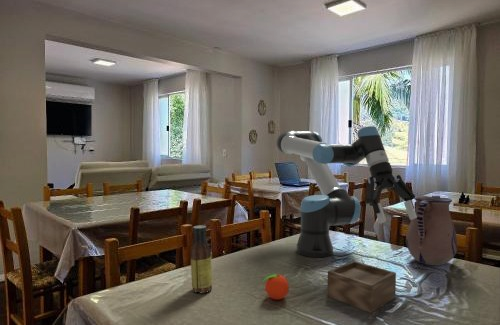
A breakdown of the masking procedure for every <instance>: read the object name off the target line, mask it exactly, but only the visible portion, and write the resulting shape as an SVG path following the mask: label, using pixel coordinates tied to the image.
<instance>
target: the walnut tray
mask: <svg viewBox="0 0 500 325" xmlns="http://www.w3.org/2000/svg"><path fill="white" fill-rule="evenodd" d="M396 281H397V272H396V271H395V272H394V271H391V270H388V269H385V268H382V267H381V268H380V267H377V266H374V265H370V264H367V263H363V262H360V261H357V260H352V261H349V262H346V263H345V264H341V265H339V266H337V267H334V268H332V269H330V270H327V290H326V291H327V292H326V293H327V295H326V296H327V297H330V298H333V299H334V300H337V301H339V302H342V303H344V304H348V305H350V306H353V307H355V308H357V309H360V310H363V311H365V312H367V313H370V314H371V313H373V312H375V311H376V310H377V309H380V308H381V307H383V306H384V305H386V304H388V303H389V302H390V301H392V300H394V299H395V298H396V288H397V287H396V285H397V283H396Z"/></svg>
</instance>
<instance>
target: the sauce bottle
mask: <svg viewBox="0 0 500 325" xmlns="http://www.w3.org/2000/svg"><path fill="white" fill-rule="evenodd" d="M192 232H193V244H192V246H191V248H190V267H191V268H190V273H191V287H192V291H193V290H194V291H196V292H207V291H209V292H211V291H212V289H213V271H212V252H211V250H210V247H209V243H208V240H207V226H206V225H200V224H199V225H195V226H193V227H192ZM210 290H211V291H210ZM196 292H195V293H196ZM207 293H208V292H207Z"/></svg>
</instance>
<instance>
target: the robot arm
mask: <svg viewBox="0 0 500 325" xmlns="http://www.w3.org/2000/svg"><path fill="white" fill-rule="evenodd" d="M276 148H277V149H278V151H279V152H281V153H282V154H286V155H297V156H298V157H299V158H300V160H301V161H302V162H305V163H306V166H307V167H308V170H309V171H310V174H311V175H312V177H313V180H315V183H316V185H317V187H318V190H320V193H321V194H315V195H314V194H313V195H308V196H306V197H303V198H302V200H301V204H300V235H299V238H298V240H297V243H296V249H295V250H296V253H297V254H299V255H301V256H304V257H311V258H325V257H330V256H333V253H334V247H333V245H332V241H331V237H330V226H340V225H341V226H342V225H349V224H354V223H356V222H357V221H358V220H359V219H360V215H361V210H362V208H361V206H362V205H361V203H360V200H359V199H358V198H357V197H356V196H353V195H351V196H350V194H349V193H348V191H347V190H346V189H345V188H341V186H340V184H339V182H338V180H337V179H336V177H335V175H334V174H333V172H332V170H331V168H330V166H329V165H328V164H343V165H344V166H347V167H348V168H349V167H355V165H358V164H359V163H360V162H362V161H364V160H365V161H366V163H367V166H368V168H369V170H368V171H369V172H370V175H371V176H370V177H368V178H367V179H366V183H367V186H366V187H367V188H366V198H365V203H366V204H367V205H369V206H370V207H372V209H373V211H374V214H376V217H377V220H378V223H379V224H383V223H385V222H387V219H386V215H385V212H384V209H383V208H382V203H381V202H379V200H380V198H381V194H382V192H383V190H391V191H393V192H394V194H396V195H398V196H399V197H400V198H401V199H402V200H403V201H404V202H403V205H404V208H405V209H406V212H407V215H408V218H409V220H410V221H411V220H412V219H415V218H417V216H416V213H415V210H416V209H415V206H414V203H413V200H415V199H414V198H415V196H416V195H415V193H414V192H413V191H412V190H411V189H410V188H409V186H407V184H406V183H405V182H404V180H403V179H402V176H401V175H400V174H397V175H395V176H394V175H393V168H392V166H391V162H390V161H389V158H388V155H387V151H386V150H385V146H384V144H383V141H382V138H381V134H380V133H379V130H378V129H377V126H374V125H366V126H364V127H362V128H360V129H358V131H357V140H356V141H354V142H353V143H350V144H349V143H347V144H346V143H343V144H341V143H340V144H335V143H334V144H332V143H327V142H323V138H322V136H321V134H320V133H318V132H317V131H311V130H286V131H283V132H282V133H281V134H279V135H278V137H277V139H276ZM375 185H376V186H375Z"/></svg>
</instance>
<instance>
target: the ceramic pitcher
mask: <svg viewBox="0 0 500 325" xmlns="http://www.w3.org/2000/svg"><path fill="white" fill-rule="evenodd" d="M413 200H415V202H416V207H415V209H414V210H415V213H416V216H417V218H415V219H412V220H410V223H409V225H408V229H407V231H406V236H405V243H406V247H407V249H408V252H409V254H410V255H411V256H412V258H414V259H415V260H416V261H417V262H418V263H419V264H424V265H427V266H443V265H445V264H448V263H449V262H450V261H452V260H453V259H454V257H455V256H456V254H457V252H458V238H457V232H456V228H455V225H454V223H453V222H454V221H453V220H452V216H451V213H450V205H451V203H452V202H453V200H452V199H451V198H448V197H441V196H439V195H432V196H429V195H428V196H427V195H423V194H422V195H415V198H414V199H413Z"/></svg>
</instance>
